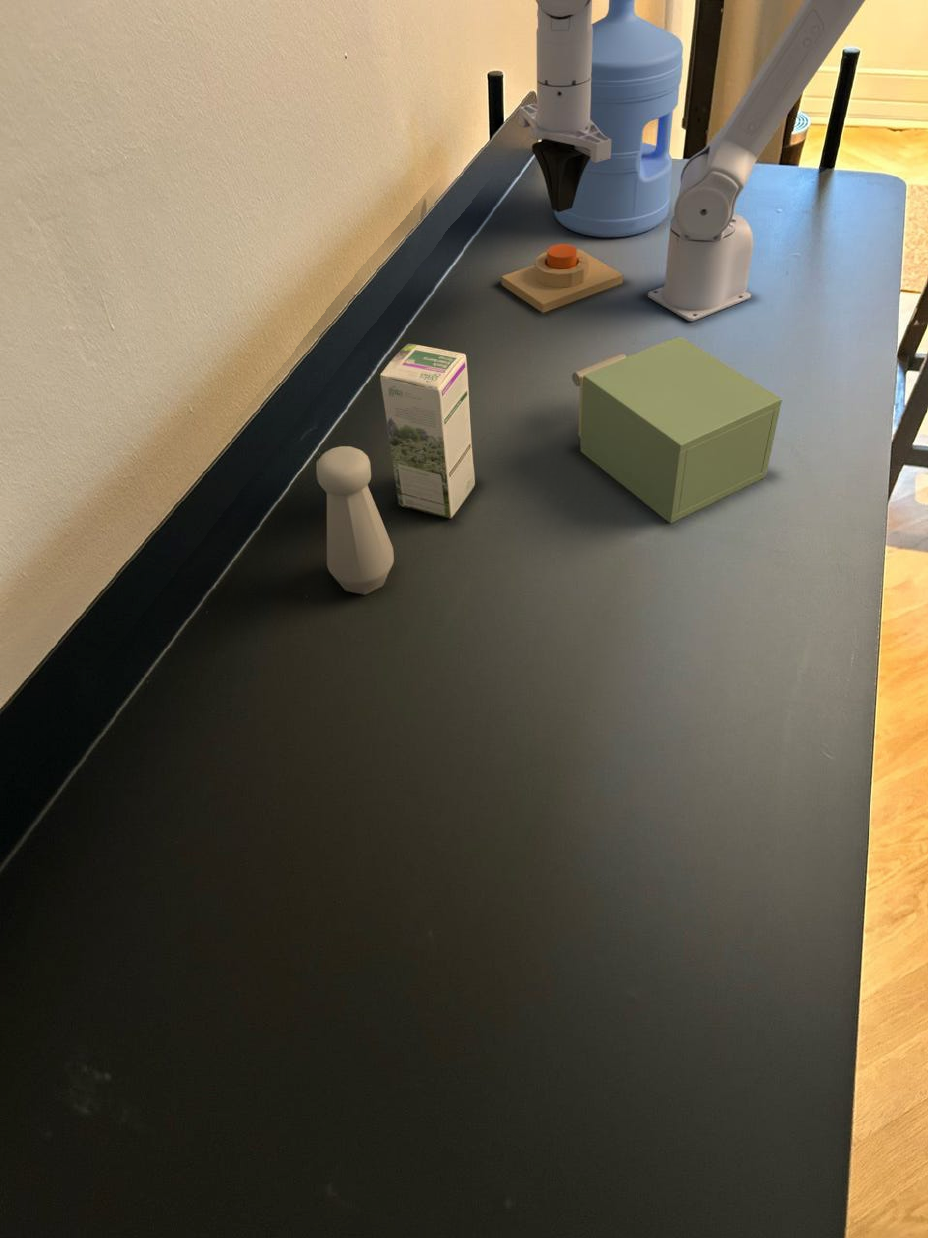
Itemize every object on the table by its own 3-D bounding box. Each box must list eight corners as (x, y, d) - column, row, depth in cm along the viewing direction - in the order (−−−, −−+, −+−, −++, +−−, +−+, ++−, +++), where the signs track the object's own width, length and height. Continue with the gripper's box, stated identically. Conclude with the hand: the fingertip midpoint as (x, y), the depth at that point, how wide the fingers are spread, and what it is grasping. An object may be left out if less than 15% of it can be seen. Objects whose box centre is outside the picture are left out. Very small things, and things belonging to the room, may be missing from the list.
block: (578, 257, 123) (579, 234, 121) (622, 283, 117) (624, 260, 115) (501, 285, 119) (500, 261, 117) (542, 313, 113) (542, 289, 111)
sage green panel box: (580, 451, 94) (582, 374, 88) (671, 411, 98) (679, 335, 92) (670, 523, 86) (680, 445, 80) (766, 476, 90) (782, 398, 83)
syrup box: (477, 485, 91) (468, 349, 81) (450, 522, 88) (438, 385, 77) (424, 472, 93) (409, 338, 83) (396, 508, 90) (377, 373, 79)
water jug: (558, 243, 126) (561, -2, 106) (550, 195, 137) (551, -36, 117) (677, 236, 125) (702, -13, 105) (659, 188, 136) (679, -45, 116)
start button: (565, 254, 118) (565, 241, 117) (582, 265, 116) (583, 251, 115) (541, 263, 117) (541, 249, 116) (558, 274, 115) (558, 260, 113)
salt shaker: (401, 556, 85) (384, 435, 75) (392, 602, 81) (372, 480, 72) (337, 555, 85) (312, 434, 76) (324, 600, 81) (297, 479, 72)
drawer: (553, 416, 97) (554, 356, 92) (633, 382, 100) (638, 323, 96) (659, 500, 87) (666, 438, 82) (745, 459, 90) (757, 397, 85)
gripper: (494, 69, 103) (499, 196, 113) (573, 104, 94) (570, 239, 104) (548, 55, 105) (548, 181, 115) (630, 88, 96) (622, 221, 106)
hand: (562, 207), depth 109 cm, fingers closed
